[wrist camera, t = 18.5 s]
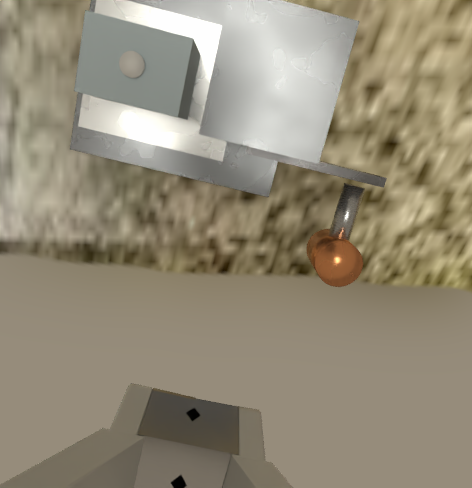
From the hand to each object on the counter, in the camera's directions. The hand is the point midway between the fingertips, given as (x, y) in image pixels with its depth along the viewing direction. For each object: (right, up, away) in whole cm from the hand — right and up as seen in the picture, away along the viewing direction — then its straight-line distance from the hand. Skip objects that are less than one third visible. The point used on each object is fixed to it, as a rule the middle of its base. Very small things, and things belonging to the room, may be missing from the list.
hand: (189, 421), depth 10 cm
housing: (-6, +17, +24) cm, 30 cm away
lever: (+8, +5, +22) cm, 24 cm away
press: (0, +16, +26) cm, 31 cm away
